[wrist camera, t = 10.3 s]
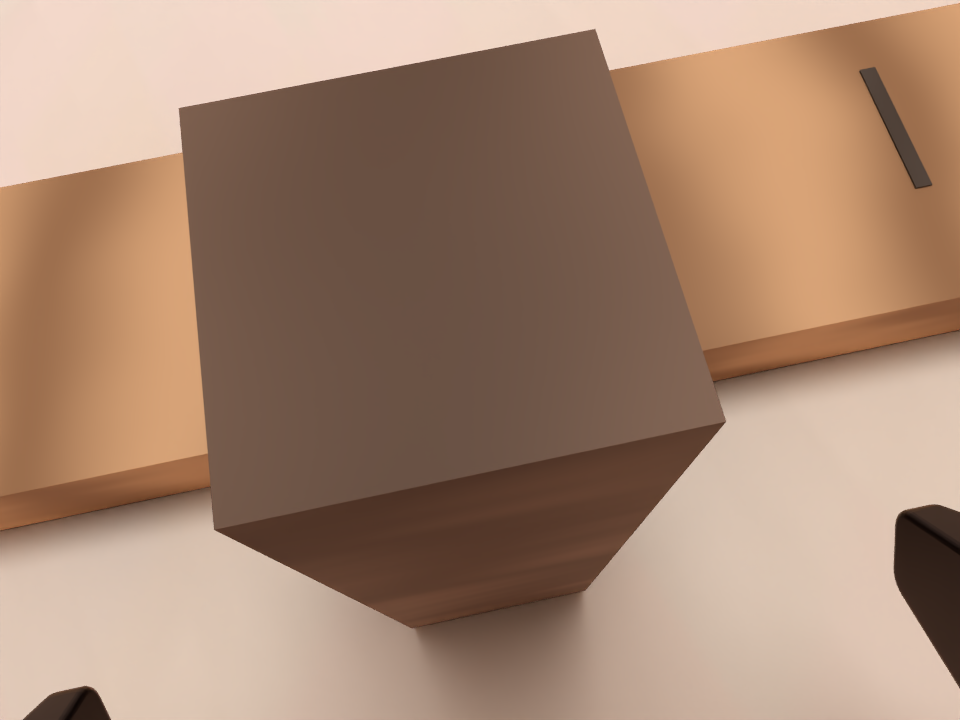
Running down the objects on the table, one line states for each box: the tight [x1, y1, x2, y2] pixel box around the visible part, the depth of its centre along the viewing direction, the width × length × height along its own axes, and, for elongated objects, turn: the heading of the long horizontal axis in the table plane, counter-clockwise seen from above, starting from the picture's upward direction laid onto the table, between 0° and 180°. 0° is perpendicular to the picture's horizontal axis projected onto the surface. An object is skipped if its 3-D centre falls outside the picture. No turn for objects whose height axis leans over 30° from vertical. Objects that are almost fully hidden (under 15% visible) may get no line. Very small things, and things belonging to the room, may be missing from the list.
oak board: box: [0, 3, 960, 530], centre depth 21 cm, size 36×8×3 cm, turn 102°
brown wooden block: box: [179, 29, 726, 628], centre depth 14 cm, size 4×12×13 cm, turn 12°
